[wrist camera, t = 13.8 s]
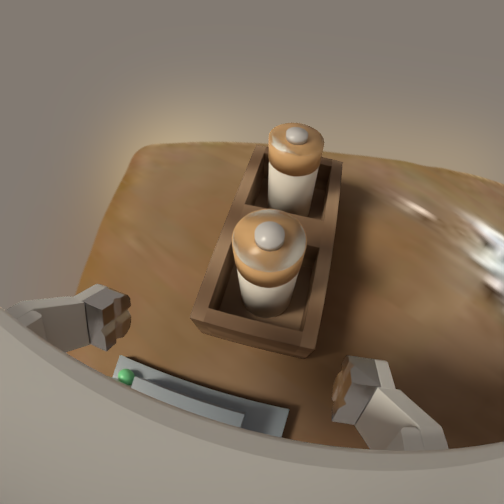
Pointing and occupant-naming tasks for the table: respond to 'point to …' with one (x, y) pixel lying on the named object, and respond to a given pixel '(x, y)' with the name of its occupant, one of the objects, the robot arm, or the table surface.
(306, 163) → the cell
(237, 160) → the table surface
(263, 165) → the rack
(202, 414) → the checker
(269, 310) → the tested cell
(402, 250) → the table surface
